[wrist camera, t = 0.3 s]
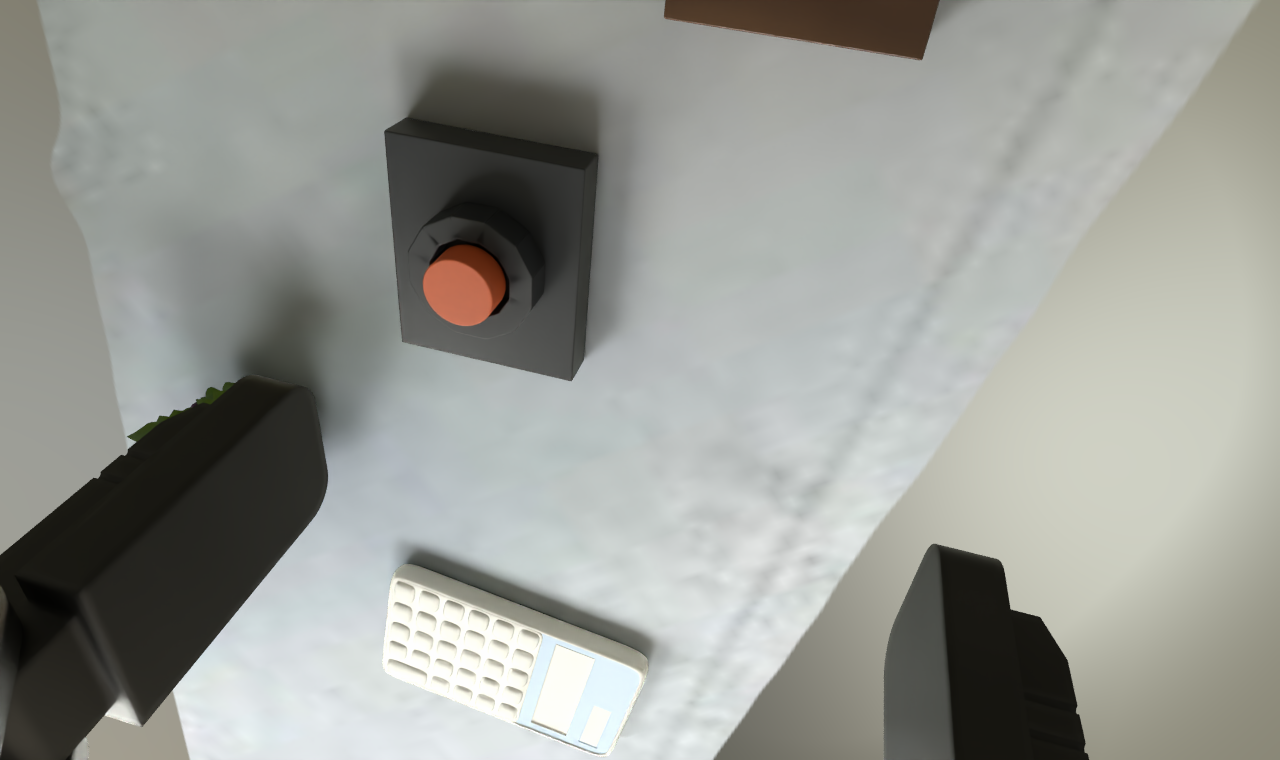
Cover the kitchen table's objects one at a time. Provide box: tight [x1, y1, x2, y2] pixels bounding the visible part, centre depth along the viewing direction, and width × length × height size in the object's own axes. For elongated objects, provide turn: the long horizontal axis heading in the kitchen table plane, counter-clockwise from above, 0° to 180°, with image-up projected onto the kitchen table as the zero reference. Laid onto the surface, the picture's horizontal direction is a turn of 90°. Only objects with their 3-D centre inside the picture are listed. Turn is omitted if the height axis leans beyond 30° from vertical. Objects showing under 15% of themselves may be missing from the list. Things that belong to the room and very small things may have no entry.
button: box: [423, 244, 506, 326], centre depth 39 cm, size 4×4×2 cm
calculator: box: [383, 564, 648, 757], centre depth 62 cm, size 13×20×2 cm, turn 76°
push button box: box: [384, 118, 598, 381], centre depth 41 cm, size 12×10×4 cm
